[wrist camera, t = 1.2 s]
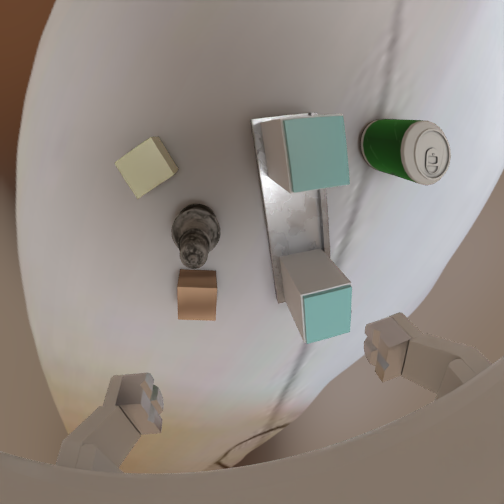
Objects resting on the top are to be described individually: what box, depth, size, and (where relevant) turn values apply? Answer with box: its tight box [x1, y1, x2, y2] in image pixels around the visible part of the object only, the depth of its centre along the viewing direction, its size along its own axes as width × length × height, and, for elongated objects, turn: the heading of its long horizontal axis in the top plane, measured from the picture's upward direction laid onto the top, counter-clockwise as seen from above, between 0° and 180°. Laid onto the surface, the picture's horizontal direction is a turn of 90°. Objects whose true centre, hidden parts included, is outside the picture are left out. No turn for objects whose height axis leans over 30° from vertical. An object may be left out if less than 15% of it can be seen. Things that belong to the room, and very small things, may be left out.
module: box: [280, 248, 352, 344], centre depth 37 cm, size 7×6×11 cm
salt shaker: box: [172, 204, 220, 269], centre depth 32 cm, size 6×6×12 cm
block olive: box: [115, 137, 178, 199], centre depth 32 cm, size 5×5×5 cm
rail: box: [250, 112, 330, 303], centre depth 38 cm, size 26×8×2 cm, turn 9°
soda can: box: [361, 119, 451, 185], centre depth 31 cm, size 8×8×12 cm
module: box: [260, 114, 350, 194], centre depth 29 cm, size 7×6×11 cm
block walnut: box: [177, 269, 217, 321], centre depth 39 cm, size 5×5×5 cm
